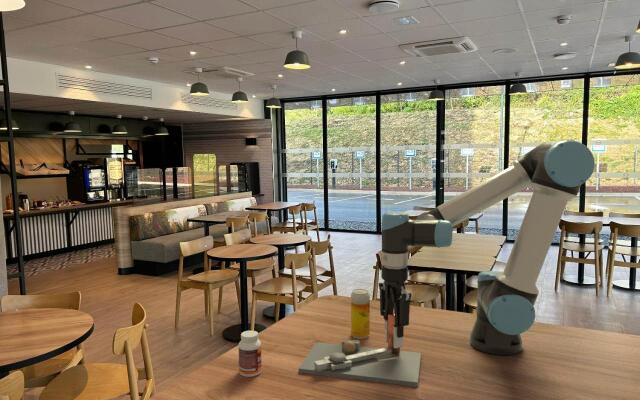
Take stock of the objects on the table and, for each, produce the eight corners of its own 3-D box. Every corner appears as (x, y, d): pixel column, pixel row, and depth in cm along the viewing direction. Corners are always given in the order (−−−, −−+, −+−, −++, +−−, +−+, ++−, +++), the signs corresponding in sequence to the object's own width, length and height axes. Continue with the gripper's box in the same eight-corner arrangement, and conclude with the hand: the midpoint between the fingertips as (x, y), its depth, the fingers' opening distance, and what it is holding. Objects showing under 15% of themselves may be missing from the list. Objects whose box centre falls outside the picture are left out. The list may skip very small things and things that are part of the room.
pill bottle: (263, 376, 127) (262, 337, 126) (239, 379, 126) (238, 339, 124) (260, 366, 133) (259, 328, 132) (238, 368, 132) (237, 330, 130)
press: (421, 356, 138) (421, 341, 138) (417, 386, 121) (417, 369, 120) (316, 345, 146) (315, 331, 146) (298, 372, 129) (298, 355, 128)
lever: (320, 374, 125) (320, 332, 124) (311, 365, 130) (311, 325, 129) (404, 355, 136) (405, 316, 135) (393, 347, 141) (394, 310, 140)
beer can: (368, 340, 150) (368, 294, 148) (349, 338, 151) (349, 293, 150) (370, 333, 156) (370, 289, 154) (352, 331, 157) (352, 288, 156)
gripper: (368, 261, 141) (368, 336, 143) (400, 274, 126) (399, 358, 128) (389, 258, 144) (388, 332, 146) (423, 271, 129) (422, 352, 131)
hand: (393, 344), depth 137 cm, fingers closed on lever, 4 cm apart
